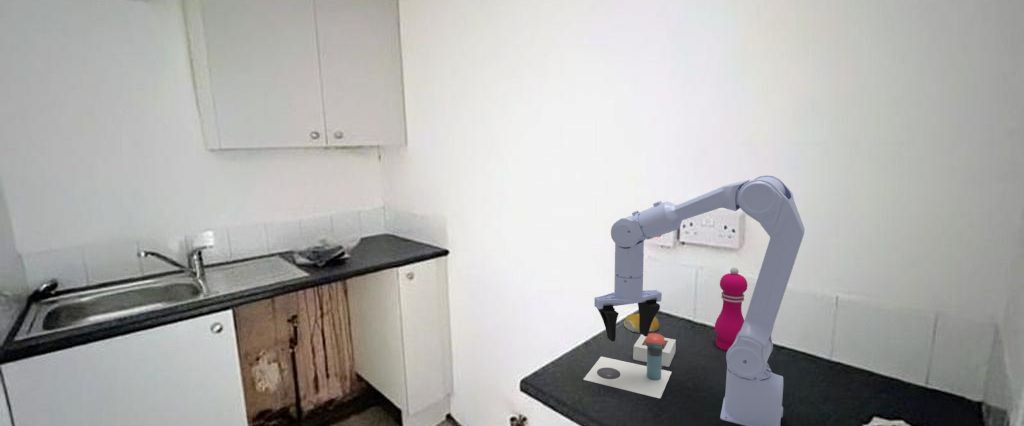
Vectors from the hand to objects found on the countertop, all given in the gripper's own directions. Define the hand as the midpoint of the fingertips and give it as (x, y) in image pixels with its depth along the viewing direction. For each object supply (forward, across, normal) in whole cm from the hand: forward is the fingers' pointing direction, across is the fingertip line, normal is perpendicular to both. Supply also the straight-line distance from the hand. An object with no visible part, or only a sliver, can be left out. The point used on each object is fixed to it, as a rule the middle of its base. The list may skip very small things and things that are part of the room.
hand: (627, 336), depth 100 cm
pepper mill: (+10, -32, -7) cm, 34 cm away
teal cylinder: (+9, -6, +1) cm, 11 cm away
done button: (+7, -11, -7) cm, 15 cm away
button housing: (+10, -11, -7) cm, 17 cm away
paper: (+10, -1, -1) cm, 10 cm away
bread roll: (+10, -18, -24) cm, 31 cm away
